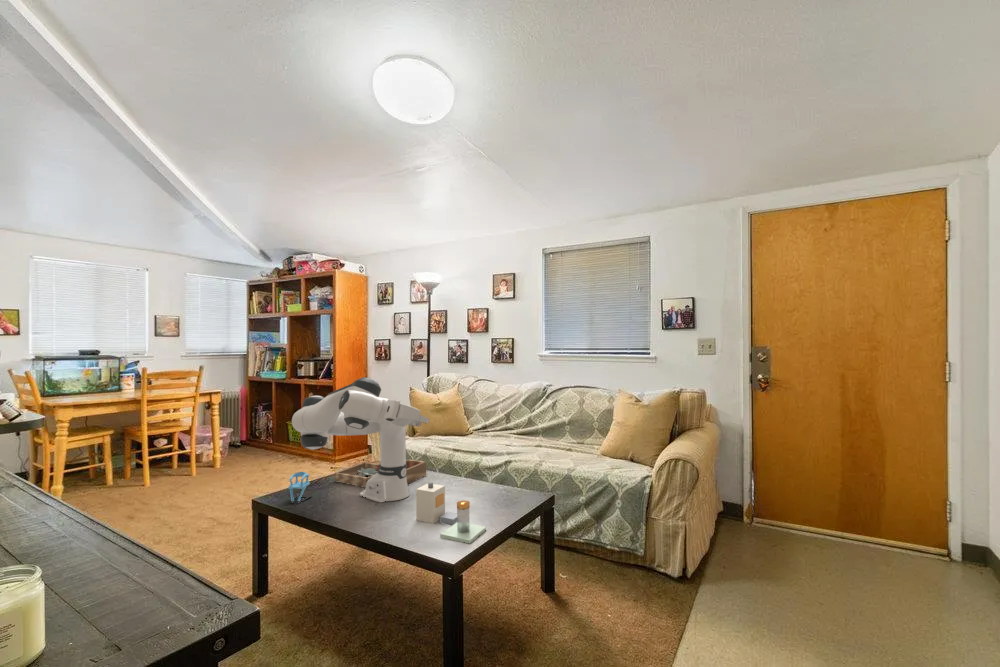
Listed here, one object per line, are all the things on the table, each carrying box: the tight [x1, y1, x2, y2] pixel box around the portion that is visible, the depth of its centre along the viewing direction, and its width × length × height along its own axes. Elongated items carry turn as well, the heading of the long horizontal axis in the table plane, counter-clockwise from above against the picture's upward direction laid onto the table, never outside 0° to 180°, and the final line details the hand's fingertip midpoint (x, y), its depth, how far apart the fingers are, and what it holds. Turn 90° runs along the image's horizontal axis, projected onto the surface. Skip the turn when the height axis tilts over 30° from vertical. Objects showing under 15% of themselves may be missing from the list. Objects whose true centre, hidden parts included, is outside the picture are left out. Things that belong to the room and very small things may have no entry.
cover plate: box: [439, 511, 457, 526], centre depth 175 cm, size 6×6×2 cm
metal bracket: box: [359, 468, 378, 477], centre depth 231 cm, size 14×6×15 cm
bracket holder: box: [406, 459, 427, 485], centre depth 227 cm, size 11×18×7 cm, turn 154°
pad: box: [439, 523, 487, 544], centre depth 163 cm, size 12×12×1 cm
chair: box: [287, 471, 311, 502], centre depth 198 cm, size 8×8×12 cm
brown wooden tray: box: [334, 462, 381, 488], centre depth 229 cm, size 21×21×4 cm
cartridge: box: [456, 499, 471, 533], centre depth 163 cm, size 5×5×10 cm
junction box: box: [415, 482, 446, 524], centre depth 177 cm, size 8×8×14 cm
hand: (424, 422), depth 163 cm, fingers open, 8 cm apart
